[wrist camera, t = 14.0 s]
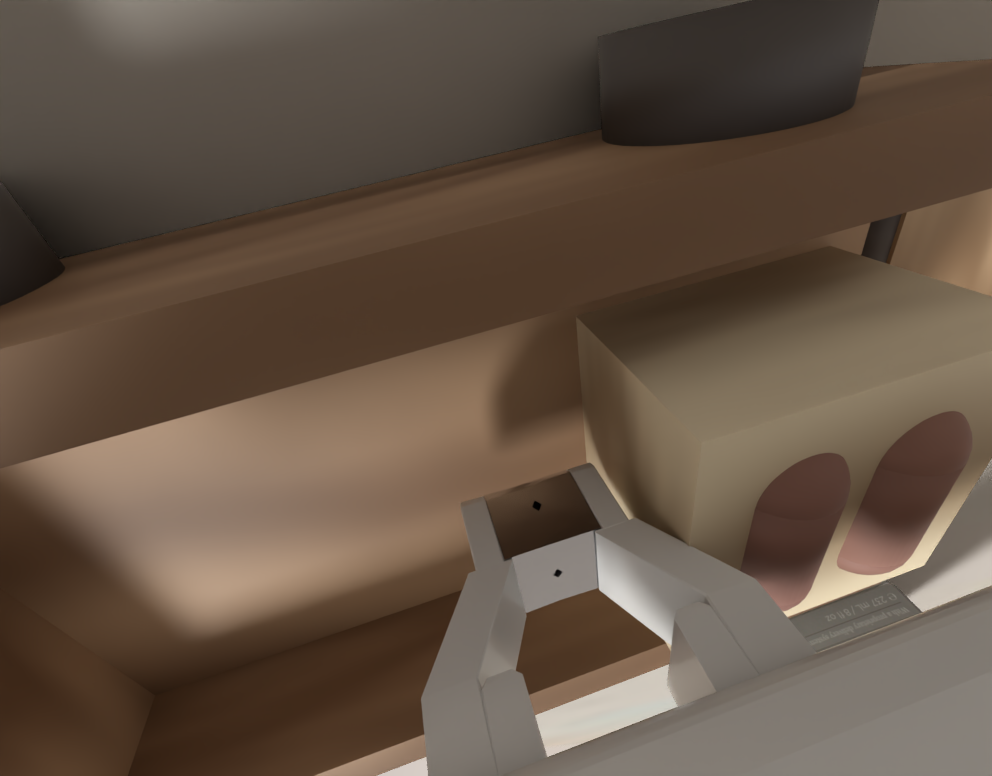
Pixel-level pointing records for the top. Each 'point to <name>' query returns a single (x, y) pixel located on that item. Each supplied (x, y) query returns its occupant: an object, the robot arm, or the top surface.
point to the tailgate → (940, 241)
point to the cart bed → (394, 396)
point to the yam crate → (794, 417)
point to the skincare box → (854, 616)
